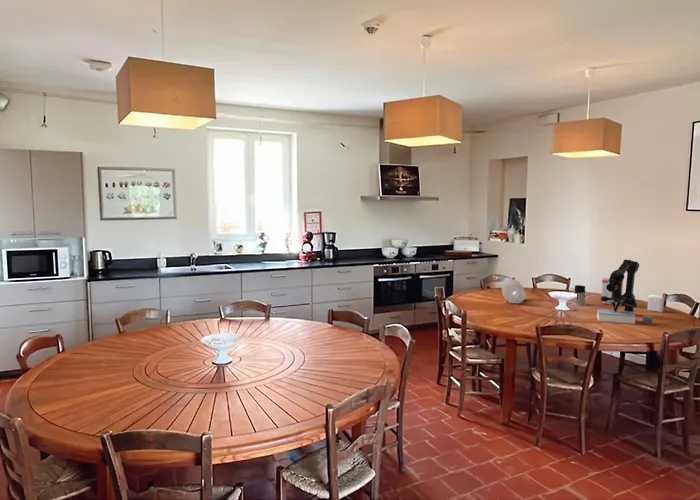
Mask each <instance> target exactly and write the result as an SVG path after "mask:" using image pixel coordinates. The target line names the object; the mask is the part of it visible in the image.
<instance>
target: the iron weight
mask: <svg viewBox="0 0 700 500" xmlns="http://www.w3.org/2000/svg"><path fill="white" fill-rule="evenodd" d="M653 319H654V318H653V317H652V315H642V318H641V320H642V321H641V323H642V324H643V325H648V324H650V325H651V326H652V325H653Z"/></svg>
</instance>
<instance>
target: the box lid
mask: <svg viewBox="0 0 700 500" xmlns="http://www.w3.org/2000/svg"><path fill="white" fill-rule="evenodd" d="M596 311H598V313H599V314H603V315H615V316H626V317H635V318H636V315H635V314H634V311H633V312H627V311H624V310H617V311H616V312H615V311H614V309H600V308H597V310H596Z"/></svg>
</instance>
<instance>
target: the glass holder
mask: <svg viewBox="0 0 700 500" xmlns="http://www.w3.org/2000/svg"><path fill="white" fill-rule="evenodd" d="M571 290H573V294H574V293H575V294H577V297H575V298H574V297H572V298H571V299H572V300H573V302H572V305H575V306H586V304H585V303H586V286H585V285H579V284H576V285H574V288H573V287H571V288H569V290H568V291H569V292H568V294H569V293H570V294H571Z"/></svg>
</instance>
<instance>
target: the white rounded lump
mask: <svg viewBox="0 0 700 500" xmlns="http://www.w3.org/2000/svg"><path fill="white" fill-rule="evenodd" d="M501 293H502V296H503V297H504V299H505V300H506V301H507V302H509V304H514V303H516V304H520V303H523V301H524V300H526V296H527V294H528V293H527V292H526V291H525V288H524V286H523V284H522V283H521V282H520V281H519V280H517V279H515V278H513V279H510V278H509V279H507V280H506V281H503V284H502V286H501Z"/></svg>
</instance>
